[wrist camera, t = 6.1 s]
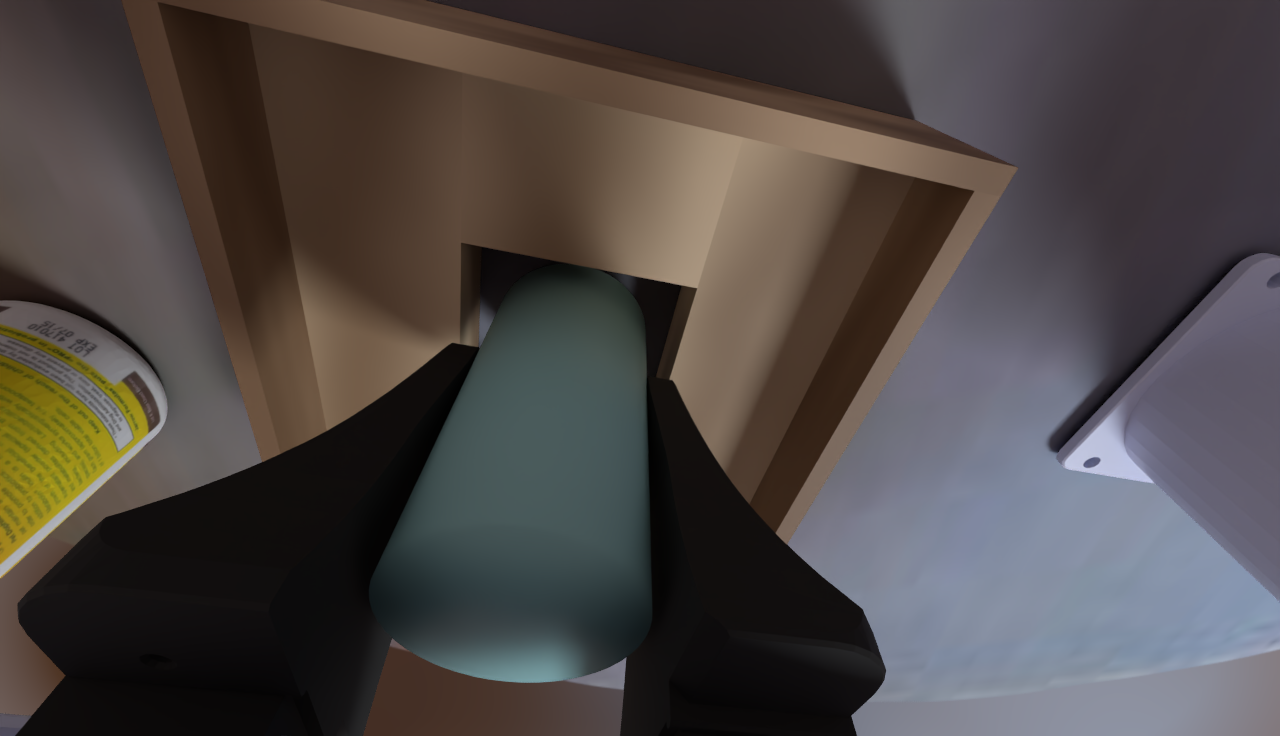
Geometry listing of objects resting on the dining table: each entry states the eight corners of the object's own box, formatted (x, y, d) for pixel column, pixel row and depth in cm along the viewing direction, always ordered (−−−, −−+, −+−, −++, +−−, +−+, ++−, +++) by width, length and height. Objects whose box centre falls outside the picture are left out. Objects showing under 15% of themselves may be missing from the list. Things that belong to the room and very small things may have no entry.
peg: (666, 290, 13) (694, 560, 7) (620, 405, 16) (607, 697, 9) (512, 243, 13) (375, 495, 6) (486, 371, 15) (364, 660, 8)
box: (916, 120, 12) (1018, 167, 9) (731, 507, 20) (748, 606, 17) (273, -38, 10) (105, -52, 7) (351, 453, 18) (290, 552, 15)
